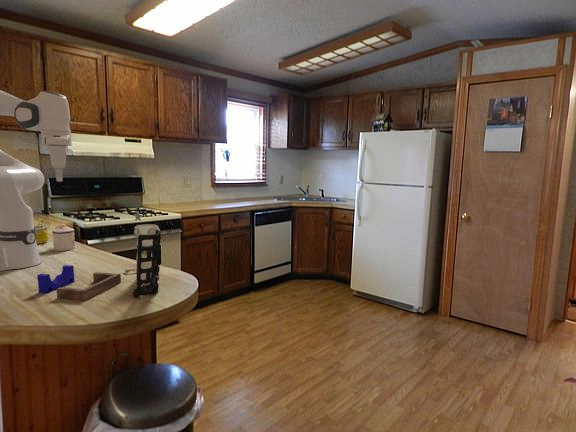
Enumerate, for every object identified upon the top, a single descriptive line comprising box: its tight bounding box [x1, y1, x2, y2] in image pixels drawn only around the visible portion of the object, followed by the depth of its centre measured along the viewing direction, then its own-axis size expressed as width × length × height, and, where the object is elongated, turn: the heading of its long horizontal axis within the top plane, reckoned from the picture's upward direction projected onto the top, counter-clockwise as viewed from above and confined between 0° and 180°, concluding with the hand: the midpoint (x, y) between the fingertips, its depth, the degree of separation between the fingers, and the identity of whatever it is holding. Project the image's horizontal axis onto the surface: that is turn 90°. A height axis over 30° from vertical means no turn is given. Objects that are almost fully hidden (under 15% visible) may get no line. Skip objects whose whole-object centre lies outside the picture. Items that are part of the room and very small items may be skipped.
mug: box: [34, 219, 51, 245], centre depth 190 cm, size 13×11×12 cm
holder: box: [132, 229, 162, 299], centre depth 122 cm, size 11×8×20 cm
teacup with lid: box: [51, 223, 76, 252], centre depth 180 cm, size 12×9×12 cm
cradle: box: [56, 271, 122, 302], centre depth 125 cm, size 10×18×3 cm, turn 170°
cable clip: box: [36, 264, 76, 294], centre depth 127 cm, size 12×4×6 cm, turn 170°
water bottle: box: [133, 211, 161, 282], centre depth 135 cm, size 8×9×25 cm
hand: (59, 180), depth 133 cm, fingers open, 8 cm apart
